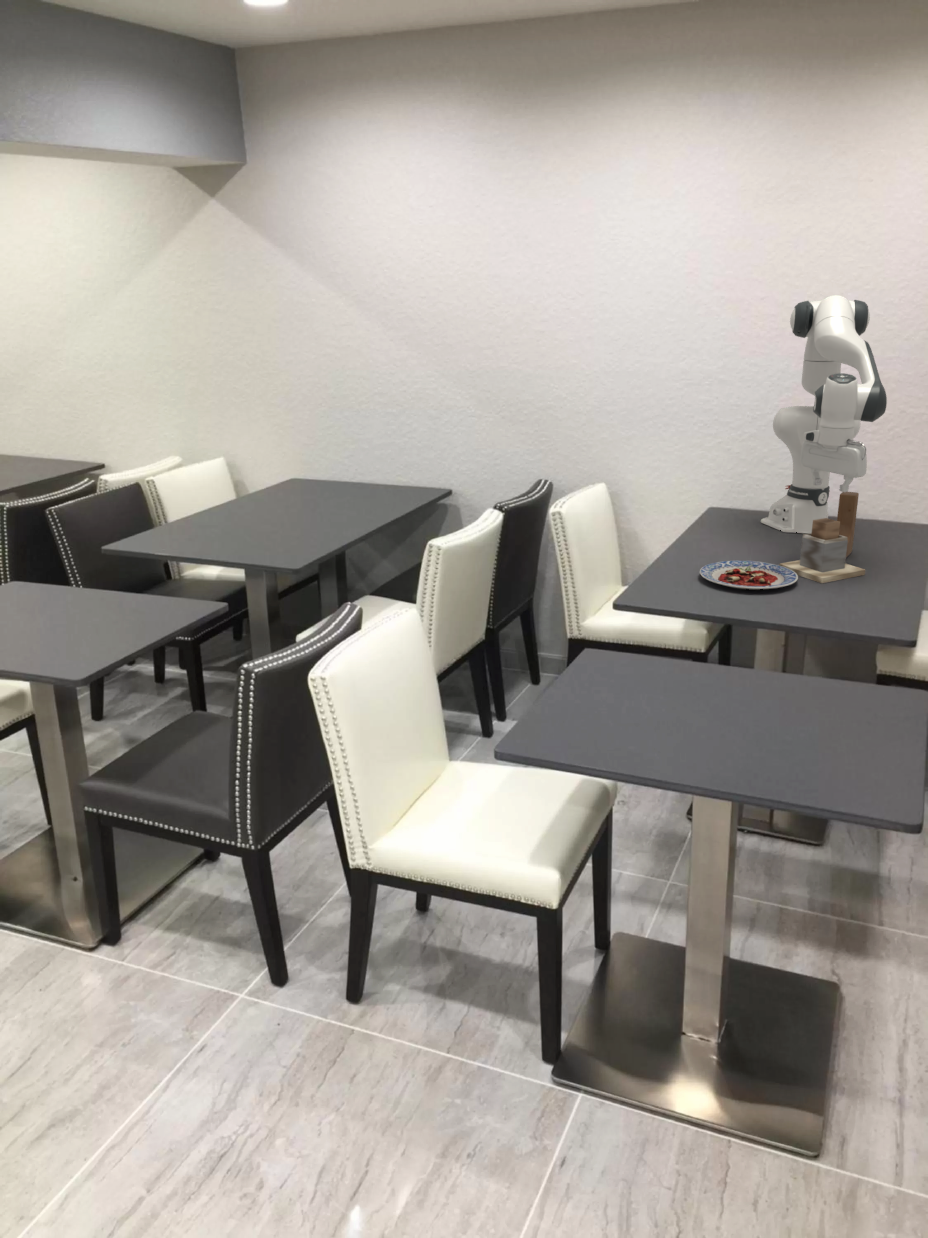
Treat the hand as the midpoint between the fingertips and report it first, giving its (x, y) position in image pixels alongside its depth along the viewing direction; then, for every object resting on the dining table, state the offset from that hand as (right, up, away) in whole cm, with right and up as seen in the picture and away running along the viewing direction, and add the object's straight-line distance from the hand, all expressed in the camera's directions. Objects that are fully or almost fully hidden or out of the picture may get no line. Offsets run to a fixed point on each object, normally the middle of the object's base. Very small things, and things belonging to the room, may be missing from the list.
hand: (830, 488), depth 273 cm
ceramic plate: (-22, -25, +1) cm, 34 cm away
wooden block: (+12, -17, +24) cm, 31 cm away
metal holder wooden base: (0, -22, +8) cm, 24 cm away
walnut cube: (0, -13, +4) cm, 14 cm away
